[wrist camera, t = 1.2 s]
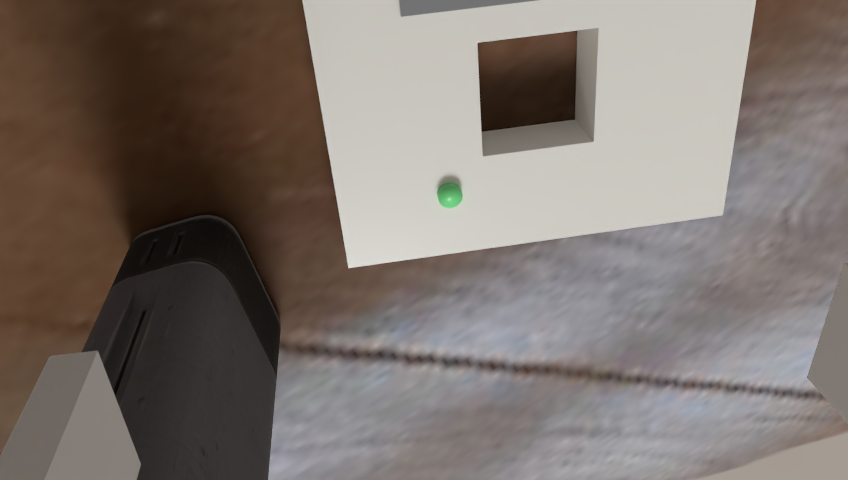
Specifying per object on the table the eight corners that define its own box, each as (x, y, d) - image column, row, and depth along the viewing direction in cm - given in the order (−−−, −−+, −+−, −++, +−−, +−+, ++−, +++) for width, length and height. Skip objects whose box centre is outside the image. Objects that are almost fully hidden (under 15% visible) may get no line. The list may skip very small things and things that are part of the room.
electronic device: (119, 235, 37) (-59, 591, 20) (227, 203, 37) (142, 535, 19) (194, 363, 42) (104, 738, 24) (289, 335, 41) (266, 694, 24)
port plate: (293, -77, 30) (290, -67, 27) (738, -126, 31) (780, -121, 28) (346, 238, 38) (348, 272, 36) (696, 190, 40) (726, 218, 37)
